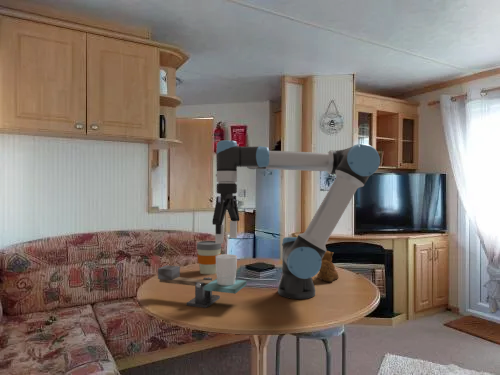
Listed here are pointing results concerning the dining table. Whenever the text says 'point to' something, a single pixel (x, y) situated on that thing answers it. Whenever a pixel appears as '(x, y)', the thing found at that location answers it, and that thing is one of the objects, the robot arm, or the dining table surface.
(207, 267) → the reusable coffee cup
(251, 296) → the dining table surface
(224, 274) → the white cup
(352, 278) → the dining table surface
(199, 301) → the beam stand
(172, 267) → the balance beam
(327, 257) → the stuffed squirrel
